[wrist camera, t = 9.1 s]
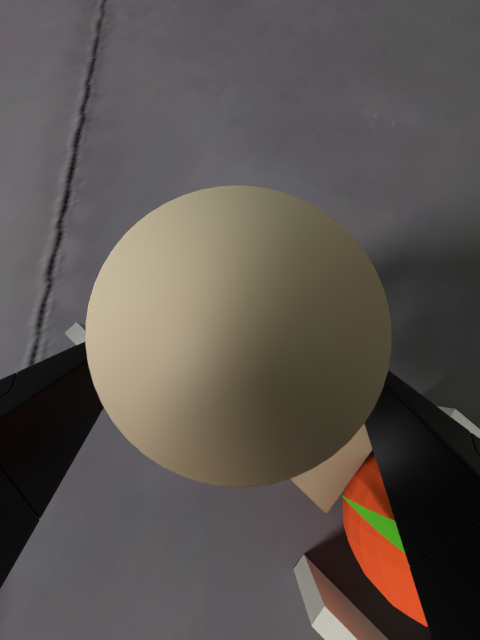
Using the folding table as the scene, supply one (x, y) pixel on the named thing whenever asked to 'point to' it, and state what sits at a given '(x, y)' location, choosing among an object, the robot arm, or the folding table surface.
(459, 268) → the folding table surface
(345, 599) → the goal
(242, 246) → the ball
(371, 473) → the clementine
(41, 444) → the robot arm
